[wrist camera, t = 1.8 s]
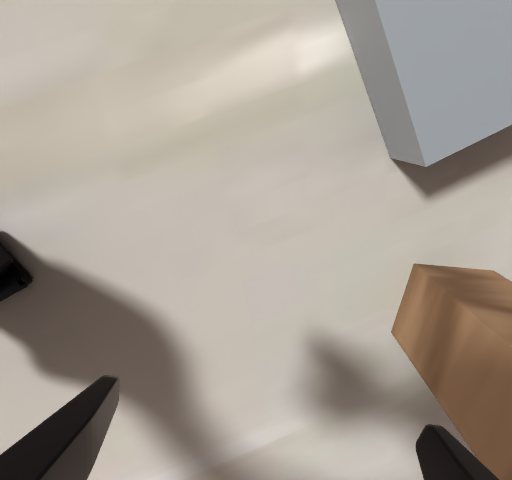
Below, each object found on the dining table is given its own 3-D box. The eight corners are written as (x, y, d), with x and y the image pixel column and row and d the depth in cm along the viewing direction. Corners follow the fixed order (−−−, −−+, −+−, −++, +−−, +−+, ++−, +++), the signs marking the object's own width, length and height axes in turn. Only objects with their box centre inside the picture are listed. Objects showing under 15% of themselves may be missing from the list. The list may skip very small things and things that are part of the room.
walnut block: (391, 332, 23) (521, 522, 12) (413, 263, 21) (597, 419, 10) (463, 337, 24) (653, 527, 13) (493, 270, 22) (754, 428, 11)
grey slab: (390, 157, 19) (426, 167, 15) (328, -22, 15) (354, -69, 11) (557, 73, 17) (644, 59, 13) (529, -148, 14) (634, -248, 10)
